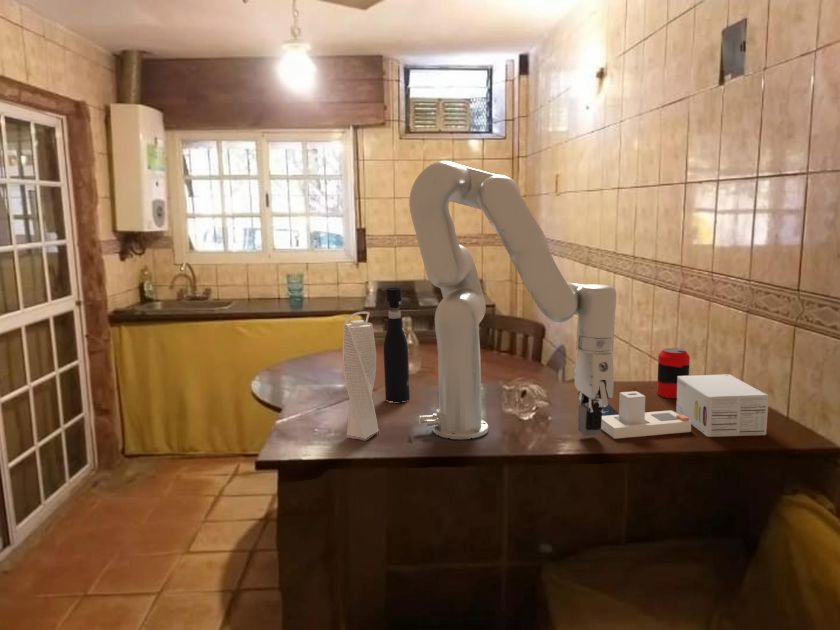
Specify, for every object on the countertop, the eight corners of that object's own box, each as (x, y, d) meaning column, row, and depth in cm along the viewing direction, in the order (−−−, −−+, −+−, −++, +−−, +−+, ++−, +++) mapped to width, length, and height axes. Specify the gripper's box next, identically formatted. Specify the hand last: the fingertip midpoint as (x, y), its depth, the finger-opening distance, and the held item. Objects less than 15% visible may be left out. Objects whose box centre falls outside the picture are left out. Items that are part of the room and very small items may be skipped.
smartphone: (607, 402, 163) (627, 421, 148) (607, 404, 163) (627, 424, 148) (577, 403, 163) (594, 422, 148) (577, 405, 163) (594, 424, 148)
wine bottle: (383, 398, 172) (378, 287, 168) (405, 395, 174) (402, 286, 169) (389, 404, 166) (384, 290, 161) (412, 402, 168) (409, 289, 163)
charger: (627, 432, 141) (628, 397, 139) (618, 426, 144) (619, 392, 143) (644, 431, 141) (645, 395, 140) (635, 425, 145) (636, 390, 144)
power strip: (614, 438, 138) (614, 425, 137) (598, 426, 146) (598, 413, 145) (690, 431, 141) (691, 418, 140) (671, 420, 149) (671, 407, 148)
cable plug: (584, 435, 136) (586, 406, 135) (578, 430, 140) (579, 401, 139) (600, 434, 137) (601, 405, 136) (593, 429, 140) (594, 400, 139)
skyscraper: (359, 428, 150) (353, 310, 145) (386, 432, 146) (381, 311, 141) (339, 439, 143) (333, 315, 138) (368, 444, 139) (362, 317, 135)
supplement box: (674, 413, 154) (676, 375, 153) (728, 411, 154) (730, 373, 153) (706, 437, 138) (708, 395, 136) (767, 435, 138) (770, 393, 136)
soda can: (679, 401, 163) (681, 355, 161) (651, 395, 168) (653, 350, 166) (693, 394, 168) (695, 350, 166) (665, 389, 173) (667, 346, 171)
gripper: (629, 351, 128) (623, 439, 131) (594, 334, 144) (589, 413, 147) (594, 352, 126) (588, 441, 130) (562, 335, 142) (558, 414, 146)
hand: (589, 425), depth 138 cm, fingers closed on cable plug, 3 cm apart
